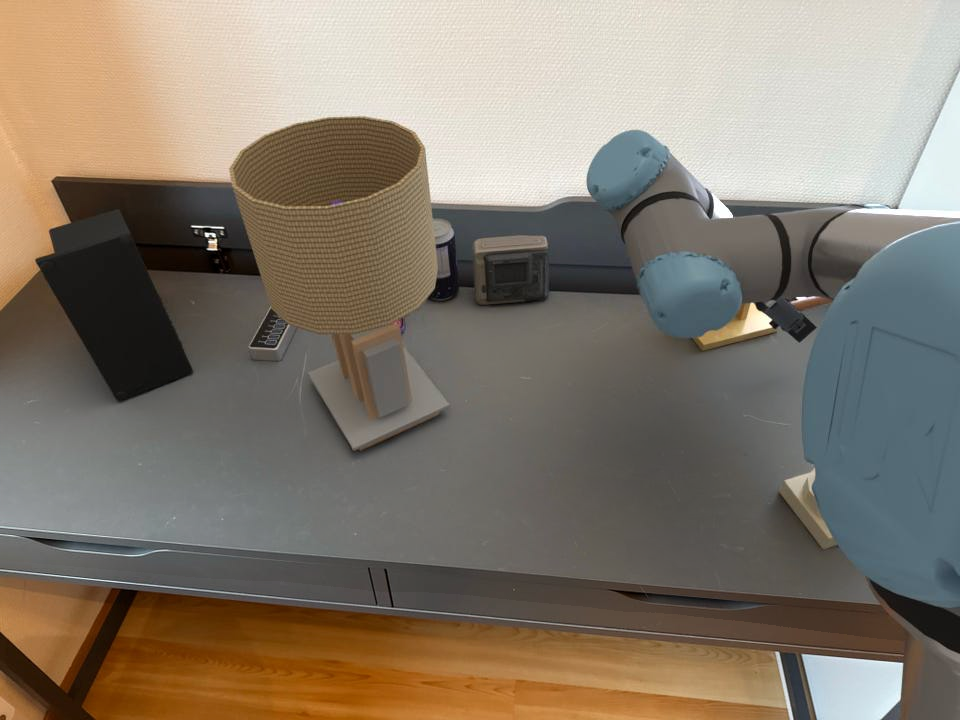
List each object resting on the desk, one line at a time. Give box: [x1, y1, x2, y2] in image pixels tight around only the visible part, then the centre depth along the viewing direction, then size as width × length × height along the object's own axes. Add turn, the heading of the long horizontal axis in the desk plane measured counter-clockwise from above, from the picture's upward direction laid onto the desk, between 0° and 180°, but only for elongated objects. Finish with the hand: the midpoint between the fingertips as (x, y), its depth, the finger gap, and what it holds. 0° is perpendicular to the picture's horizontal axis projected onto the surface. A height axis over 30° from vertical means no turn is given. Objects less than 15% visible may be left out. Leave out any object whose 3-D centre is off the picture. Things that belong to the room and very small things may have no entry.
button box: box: [778, 467, 838, 550], centre depth 77 cm, size 8×8×4 cm
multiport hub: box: [248, 306, 298, 362], centre depth 106 cm, size 4×14×2 cm, turn 172°
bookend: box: [34, 208, 194, 402], centre depth 98 cm, size 23×11×24 cm, turn 31°
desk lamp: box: [228, 115, 451, 452], centre depth 82 cm, size 20×20×35 cm
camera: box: [471, 234, 550, 306], centre depth 106 cm, size 11×6×10 cm, turn 92°
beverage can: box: [428, 218, 460, 301], centre depth 107 cm, size 6×6×12 cm
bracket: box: [691, 303, 779, 352], centre depth 98 cm, size 10×12×14 cm
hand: (800, 327), depth 87 cm, fingers closed on lever, 1 cm apart
